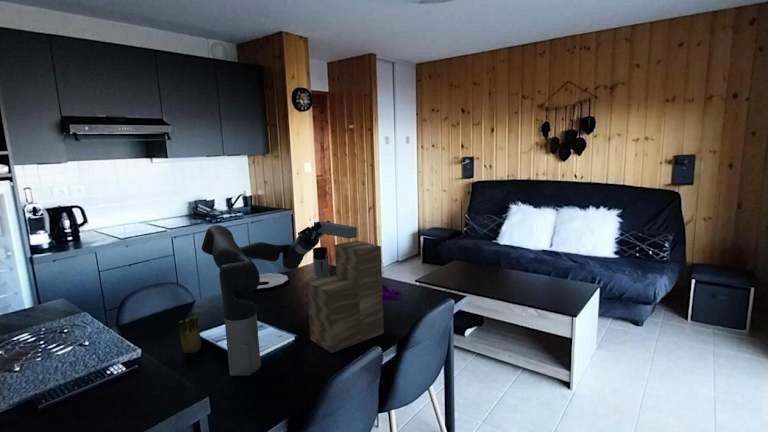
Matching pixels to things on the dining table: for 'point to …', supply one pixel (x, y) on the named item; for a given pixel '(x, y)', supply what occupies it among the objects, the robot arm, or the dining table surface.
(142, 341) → the dining table surface
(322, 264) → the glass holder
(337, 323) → the plinth
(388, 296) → the cloth
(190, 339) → the fennel bulb
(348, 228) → the blue-gray bar
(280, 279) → the plate
